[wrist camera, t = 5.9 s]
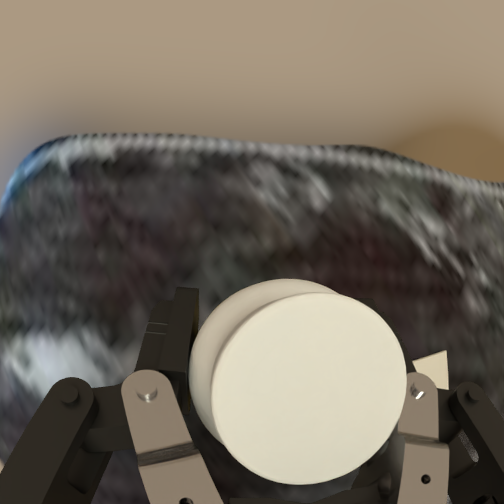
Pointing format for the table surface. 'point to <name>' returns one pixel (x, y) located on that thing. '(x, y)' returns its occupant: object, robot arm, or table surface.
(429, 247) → the table surface
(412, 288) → the table surface
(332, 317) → the supplement bottle
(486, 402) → the robot arm
